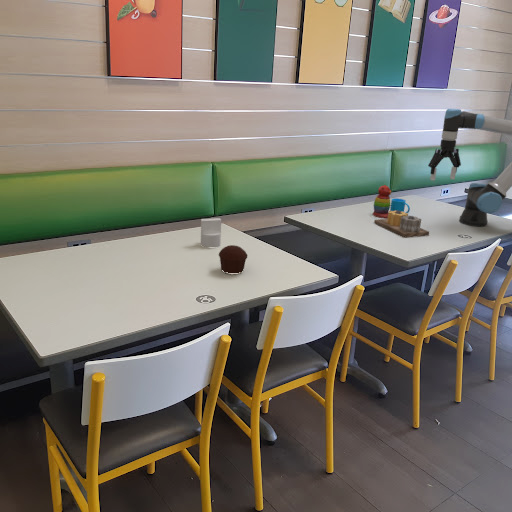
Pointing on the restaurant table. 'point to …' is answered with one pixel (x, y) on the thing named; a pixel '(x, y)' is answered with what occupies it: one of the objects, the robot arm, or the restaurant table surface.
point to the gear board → (398, 231)
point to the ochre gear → (395, 218)
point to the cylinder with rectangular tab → (211, 232)
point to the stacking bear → (382, 202)
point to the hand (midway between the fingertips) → (442, 179)
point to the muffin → (232, 259)
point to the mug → (398, 205)
